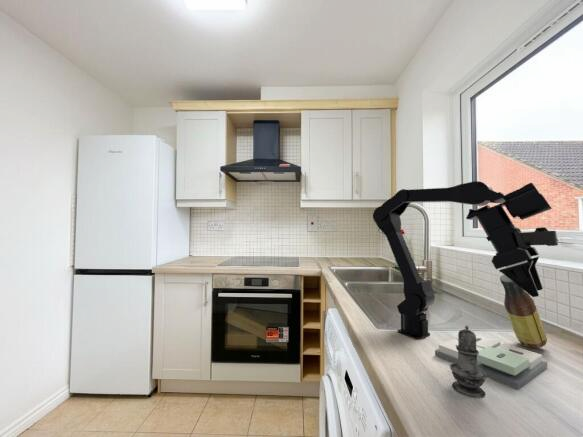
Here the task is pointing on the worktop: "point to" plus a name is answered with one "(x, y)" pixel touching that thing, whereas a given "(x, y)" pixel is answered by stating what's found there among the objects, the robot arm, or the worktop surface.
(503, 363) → the green key
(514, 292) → the sauce bottle
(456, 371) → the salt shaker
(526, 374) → the keypad board
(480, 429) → the worktop surface
